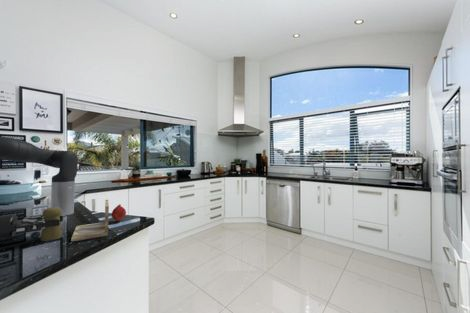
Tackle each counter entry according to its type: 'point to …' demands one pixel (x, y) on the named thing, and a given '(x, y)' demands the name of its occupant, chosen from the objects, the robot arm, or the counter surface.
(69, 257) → the counter surface
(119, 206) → the onion
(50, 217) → the olive yellow tapered cylinder
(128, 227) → the counter surface
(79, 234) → the condiment stand
